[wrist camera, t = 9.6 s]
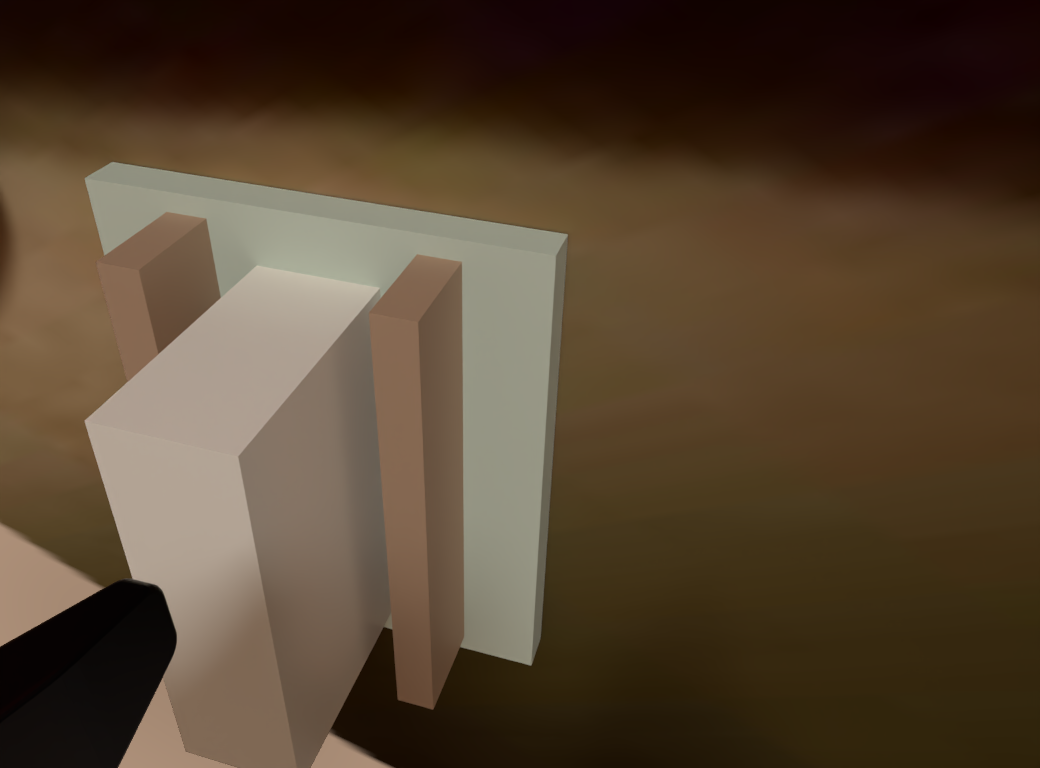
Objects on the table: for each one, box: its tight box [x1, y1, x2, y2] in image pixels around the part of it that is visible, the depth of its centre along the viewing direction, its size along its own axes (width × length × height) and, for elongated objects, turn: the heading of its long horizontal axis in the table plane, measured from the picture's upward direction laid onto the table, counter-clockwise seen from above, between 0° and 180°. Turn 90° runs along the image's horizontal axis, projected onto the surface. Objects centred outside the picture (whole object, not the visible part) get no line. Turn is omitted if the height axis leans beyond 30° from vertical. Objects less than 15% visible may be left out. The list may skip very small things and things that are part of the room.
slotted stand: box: [85, 162, 568, 709], centre depth 23 cm, size 11×13×4 cm
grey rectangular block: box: [85, 266, 391, 768], centre depth 21 cm, size 3×10×6 cm, turn 177°
